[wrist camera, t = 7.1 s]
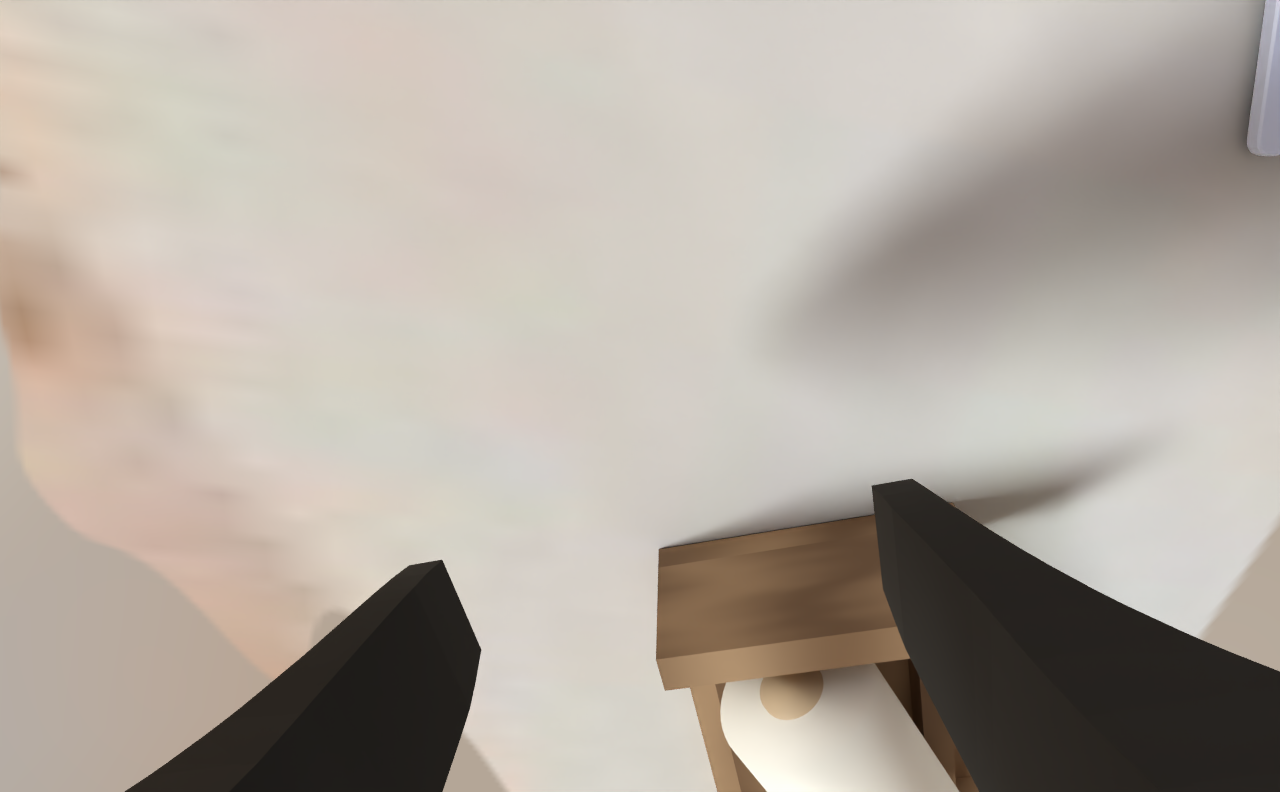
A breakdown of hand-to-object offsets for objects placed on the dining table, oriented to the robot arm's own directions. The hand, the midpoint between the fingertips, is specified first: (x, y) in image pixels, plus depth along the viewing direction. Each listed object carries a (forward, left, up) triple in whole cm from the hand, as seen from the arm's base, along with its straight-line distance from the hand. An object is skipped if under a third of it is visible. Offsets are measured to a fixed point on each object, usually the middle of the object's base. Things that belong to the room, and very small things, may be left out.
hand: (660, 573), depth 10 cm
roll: (-3, +13, -8) cm, 16 cm away
